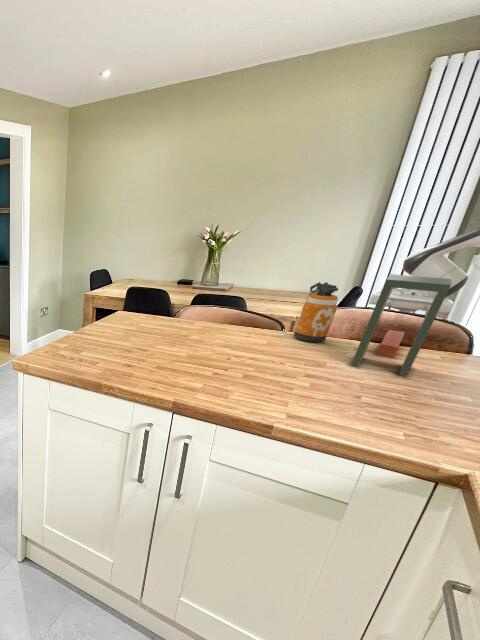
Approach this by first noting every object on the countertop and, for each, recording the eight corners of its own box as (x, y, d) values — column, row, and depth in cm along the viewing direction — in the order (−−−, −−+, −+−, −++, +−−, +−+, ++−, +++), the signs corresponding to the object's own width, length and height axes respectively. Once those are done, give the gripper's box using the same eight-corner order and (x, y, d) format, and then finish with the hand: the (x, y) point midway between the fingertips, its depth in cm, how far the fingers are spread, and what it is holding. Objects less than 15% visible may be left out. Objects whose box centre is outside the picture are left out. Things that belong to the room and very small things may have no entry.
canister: (302, 342, 140) (321, 285, 132) (284, 333, 150) (302, 279, 142) (330, 343, 139) (352, 286, 131) (311, 333, 149) (330, 279, 141)
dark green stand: (409, 366, 119) (452, 279, 108) (406, 377, 113) (451, 285, 102) (356, 356, 128) (390, 274, 117) (350, 365, 121) (386, 279, 110)
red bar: (400, 341, 139) (404, 332, 138) (393, 357, 126) (398, 347, 125) (384, 339, 142) (388, 329, 140) (376, 354, 129) (380, 344, 127)
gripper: (448, 312, 139) (447, 321, 131) (370, 303, 153) (364, 310, 145) (458, 294, 137) (457, 302, 128) (376, 286, 151) (371, 292, 142)
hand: (407, 306), depth 137 cm, fingers open, 8 cm apart
